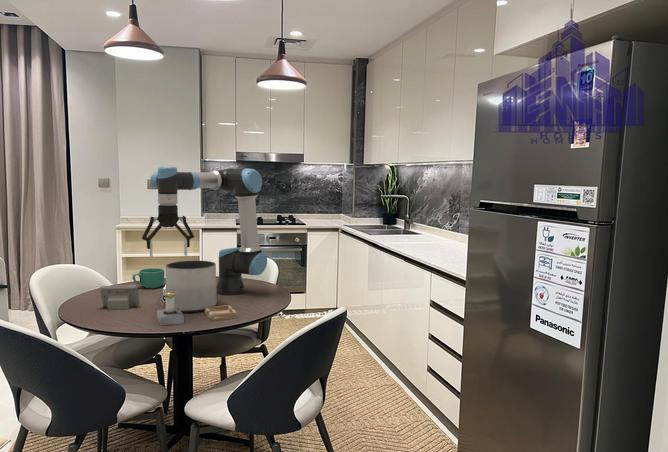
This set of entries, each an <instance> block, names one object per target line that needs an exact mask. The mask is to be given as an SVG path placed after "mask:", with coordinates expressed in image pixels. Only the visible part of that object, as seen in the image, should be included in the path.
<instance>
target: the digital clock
mask: <svg viewBox="0 0 668 452" xmlns="http://www.w3.org/2000/svg"><path fill="white" fill-rule="evenodd" d="M99 290H100V297H101V302H102V306H103V308H107V310H108V311H118V310H119V311H120V310H122V311H123V310H129V309H131V307H137V306H140V295H139V290H138V286H137V285H135V284H128V285H127V284H126V285H125V284H124V285H123V284H122V285H121V284H119V285H102V286H100V289H99Z"/></svg>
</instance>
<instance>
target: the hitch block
mask: <svg viewBox="0 0 668 452" xmlns="http://www.w3.org/2000/svg"><path fill="white" fill-rule="evenodd" d="M156 313H157V314H156V315H157V316H156V317H157V321H158V323H159V325H160V327H164V326H172V325H182V323H183V324H185V322H184V321H185V320H184V319H185V317H184V312H181V310H180V309H179V308H175V314H167V315H166V308H165V309H158V310H156Z"/></svg>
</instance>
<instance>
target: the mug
mask: <svg viewBox="0 0 668 452" xmlns="http://www.w3.org/2000/svg"><path fill="white" fill-rule="evenodd" d="M136 276H138V277H139V281H137V280H136ZM132 280H133V282H134V283H135V284H137V285H140V286H142V287H144V288H145V289H149V290H150V289H151V290H152V289H157V288H160V287H161V286H162V285H163V284H164V283H165V269H164V268H158V267H156V268H155V267H150V268H149V267H148V268H143V269H140V270H139V272H135V273H133V274H132Z"/></svg>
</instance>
